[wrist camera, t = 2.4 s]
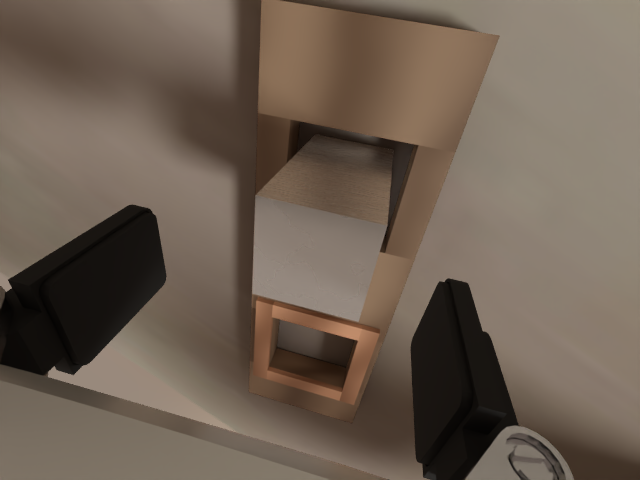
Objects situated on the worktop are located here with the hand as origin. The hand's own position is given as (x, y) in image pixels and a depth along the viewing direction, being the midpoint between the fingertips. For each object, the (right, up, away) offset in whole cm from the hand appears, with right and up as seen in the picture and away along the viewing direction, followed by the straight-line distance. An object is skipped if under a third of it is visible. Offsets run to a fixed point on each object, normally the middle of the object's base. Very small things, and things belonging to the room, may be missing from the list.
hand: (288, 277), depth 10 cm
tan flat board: (+2, -1, +12) cm, 13 cm away
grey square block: (+3, +5, +9) cm, 10 cm away
